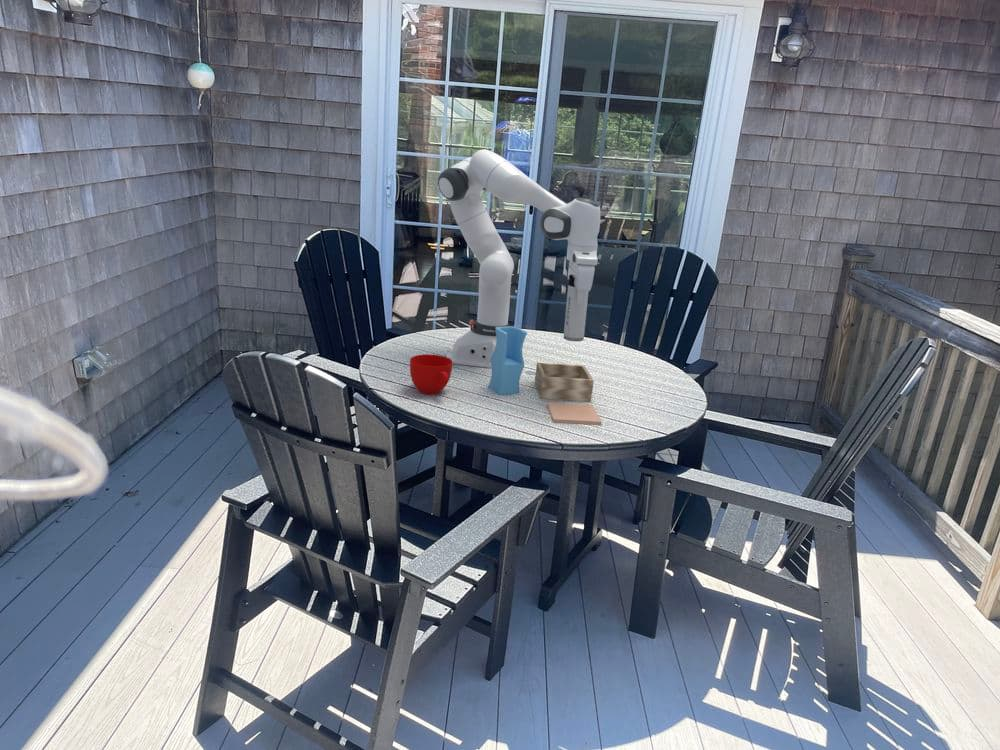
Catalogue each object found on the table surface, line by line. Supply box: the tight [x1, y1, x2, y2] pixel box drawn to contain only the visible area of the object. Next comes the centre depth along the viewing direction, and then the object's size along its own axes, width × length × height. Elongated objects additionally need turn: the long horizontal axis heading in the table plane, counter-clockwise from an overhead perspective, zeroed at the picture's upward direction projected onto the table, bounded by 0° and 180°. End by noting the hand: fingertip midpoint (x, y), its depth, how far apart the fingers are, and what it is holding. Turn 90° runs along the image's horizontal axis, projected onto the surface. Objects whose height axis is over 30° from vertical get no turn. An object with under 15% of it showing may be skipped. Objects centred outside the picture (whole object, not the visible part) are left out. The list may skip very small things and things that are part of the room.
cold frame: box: [534, 361, 595, 402], centre depth 234 cm, size 16×16×7 cm
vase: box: [487, 325, 528, 396], centre depth 229 cm, size 8×8×20 cm
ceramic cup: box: [409, 353, 453, 396], centre depth 221 cm, size 13×17×10 cm
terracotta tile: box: [546, 402, 603, 426], centre depth 215 cm, size 14×14×1 cm
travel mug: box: [563, 274, 589, 343], centre depth 221 cm, size 6×7×20 cm
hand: (576, 300), depth 220 cm, fingers closed on travel mug, 6 cm apart
